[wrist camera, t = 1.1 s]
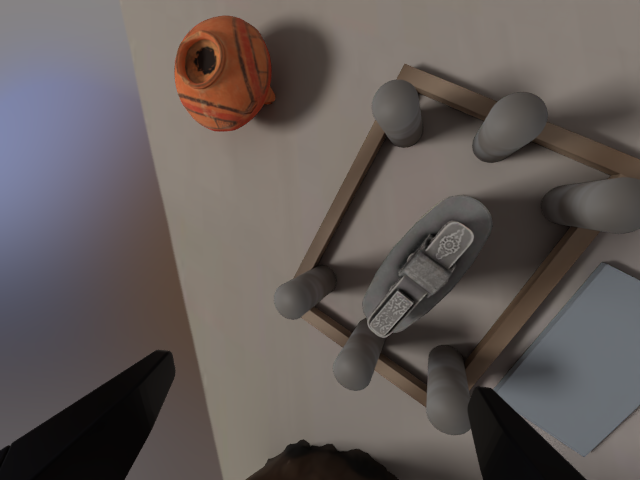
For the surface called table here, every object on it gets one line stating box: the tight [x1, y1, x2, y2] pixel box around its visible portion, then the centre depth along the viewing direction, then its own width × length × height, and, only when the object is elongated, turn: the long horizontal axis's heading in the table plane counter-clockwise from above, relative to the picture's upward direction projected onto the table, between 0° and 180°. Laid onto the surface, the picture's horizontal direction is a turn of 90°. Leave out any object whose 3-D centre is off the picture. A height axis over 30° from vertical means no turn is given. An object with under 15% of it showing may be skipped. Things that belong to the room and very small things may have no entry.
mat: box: [493, 262, 640, 457], centre depth 19 cm, size 6×11×1 cm, turn 152°
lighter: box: [362, 195, 493, 338], centre depth 17 cm, size 8×3×10 cm, turn 145°
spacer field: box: [274, 64, 640, 435], centre depth 19 cm, size 15×20×6 cm
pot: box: [175, 16, 275, 131], centre depth 23 cm, size 8×8×7 cm
